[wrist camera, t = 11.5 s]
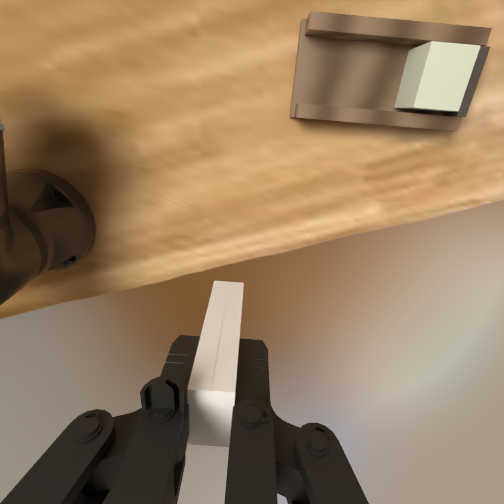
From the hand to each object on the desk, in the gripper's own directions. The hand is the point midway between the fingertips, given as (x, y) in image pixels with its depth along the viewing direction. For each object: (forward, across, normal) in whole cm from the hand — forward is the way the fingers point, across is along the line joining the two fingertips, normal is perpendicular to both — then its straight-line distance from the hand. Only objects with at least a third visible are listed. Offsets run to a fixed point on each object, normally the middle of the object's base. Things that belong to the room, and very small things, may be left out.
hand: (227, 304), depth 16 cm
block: (+28, -20, -14) cm, 37 cm away
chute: (+29, -15, -14) cm, 36 cm away
